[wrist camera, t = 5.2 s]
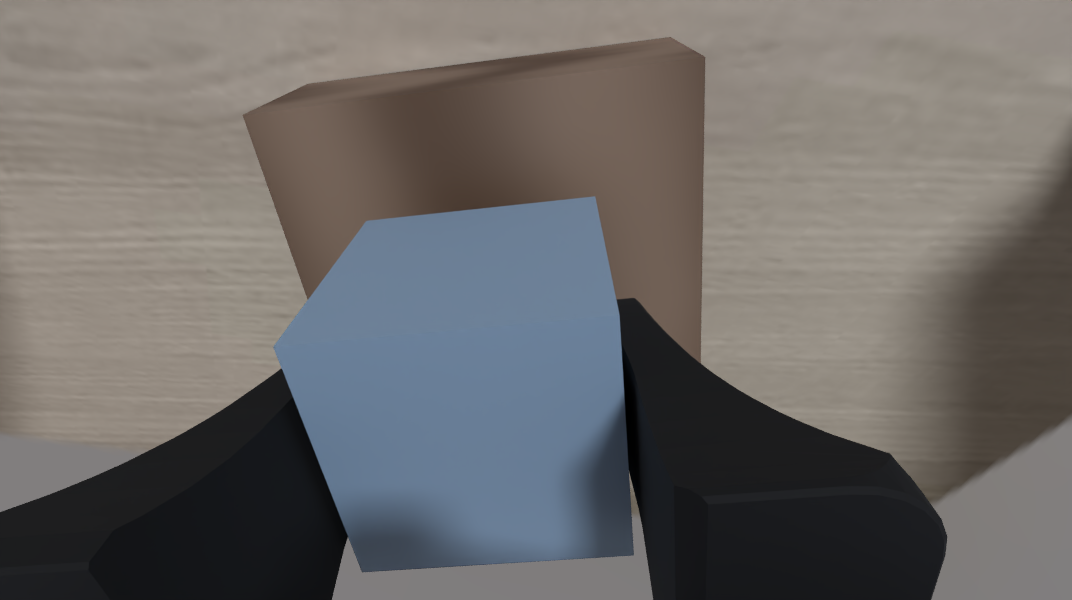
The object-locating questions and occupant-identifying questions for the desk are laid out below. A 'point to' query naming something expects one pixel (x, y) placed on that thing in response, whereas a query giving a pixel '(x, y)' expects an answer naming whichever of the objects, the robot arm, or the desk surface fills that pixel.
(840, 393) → the desk surface
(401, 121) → the walnut block
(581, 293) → the blue cube
